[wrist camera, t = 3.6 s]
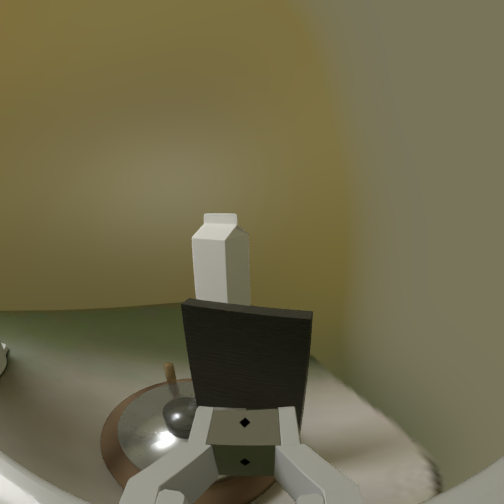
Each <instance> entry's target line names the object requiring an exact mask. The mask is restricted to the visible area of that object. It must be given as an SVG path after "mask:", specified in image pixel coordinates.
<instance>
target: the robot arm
mask: <svg viewBox="0 0 504 504" xmlns="http://www.w3.org/2000/svg"><path fill="white" fill-rule="evenodd" d="M7 351H8V348H7V346H6V344H3V343H1V342H0V375H1V374H2V372H3V371H4V369H5V367H6V364H7V359H6V354H7ZM219 475H228V476H274V478H275V479H276V480H277V481H278V483H279V484H280V485H281V486H282V487H283V489H284V490H285V491H286V492H287V493H288V494H289V495H290V497H291V498H292V499H293V500H294V501H295V502H296V503H295V504H364V503H363V500H362V496H361V493H360V489H359V486H358V485H357V484H356V483H355V482H353V481H352V480H350V479H349V478H348V477H346V476H345V475H344V474H343V473H341V472H340V471H339V470H337V469H336V468H335V467H333V466H332V465H331V464H330V463H328V462H327V461H326V460H325V459H323V458H322V457H321V456H320V455H319V454H317V453H316V452H315V451H314V450H313V449H311V448H310V447H309V446H308V445H307V444H301V442H300V435H299V429H298V422H297V416H296V410H295V407H294V406H291V407H278V408H277V407H275V408H246V409H245V408H222V407H205V406H199V407H198V408H197V410H196V413H195V417H194V421H193V424H192V428H191V432H190V436H189V439H188V443H187V442H182V443H181V444H180V445H178V446H177V447H176V448H174V449H173V450H171V451H170V452H169V453H167V454H166V455H164V456H163V457H162V458H160V459H159V460H157V461H156V462H154V463H153V464H151V465H150V466H148V467H147V468H145V469H144V470H142V471H141V472H139V473H138V474H136V475H135V476H133V477H131V478H130V479H129V480H128V482H127V484H126V487H125V489H124V492H123V494H122V497H121V499H120V502H119V504H193V503H194V502H195V501H196V500H197V499H198V498H199V497H200V496H201V495H202V494H203V493H204V492H205V491H206V490H207V489H208V488H209V487H210V486H211V485H212V484H213V483H214V482H215V481H216V480H217V478H218V477H219ZM0 504H92V503H90V502H87V501H85V500H83V499H81V498H78V497H76V496H74V495H72V494H70V493H68V492H66V491H64V490H62V489H60V488H58V487H56V486H54V485H53V484H51V483H49V482H47V481H45V480H44V479H42V478H40V477H39V476H37V475H35V474H34V473H32V472H31V471H29V470H27V469H26V468H24V467H23V466H21V465H20V464H18V463H17V462H16V461H14V460H13V459H11V458H10V457H9V456H7V455H6V454H4V453H3V452H2V451H1V450H0ZM419 504H504V455H503V456H502V457H501V458H499V459H498V460H496V461H495V462H494V463H492V464H491V465H490V466H488V467H486V468H485V469H483V470H482V471H480V472H479V473H477V474H475V475H474V476H472V477H470V478H469V479H467V480H465V481H464V482H462V483H460V484H458V485H456V486H454V487H453V488H451V489H449V490H447V491H445V492H443V493H441V494H439V495H437V496H435V497H432V498H430V499H428V500H426V501H423V502H421V503H419Z"/></svg>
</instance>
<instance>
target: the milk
mask: <svg viewBox="0 0 504 504" xmlns="http://www.w3.org/2000/svg"><path fill="white" fill-rule="evenodd" d="M192 252H193V266H194V279H195V291H196V299H199V300H206V301H214V302H222V303H230V304H239V305H248V306H250V269H249V234H248V233H247V232H245V231H244V230H243V229H242V228H241V227H240V226H238V222H237V215H236V214H204V224H203V225H202V227H201V228H200V229H199V230H198V231H197V232H196V233H195V234H194V236H193V237H192Z"/></svg>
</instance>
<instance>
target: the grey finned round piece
mask: <svg viewBox="0 0 504 504" xmlns="http://www.w3.org/2000/svg"><path fill="white" fill-rule="evenodd" d="M181 308H182V316H183V324H184V332H185V339H186V346H187V352H188V359H189V365H190V371H191V377H192V381H185V382H176V383H170V384H166V385H162V386H159V387H156V388H154V389H151V390H149V391H147V392H145V393H143V394H142V395H140V396H138V397H137V398H136V399H134V400H133V401H132V402H131V403H130V404H129V405H128V406H127V407H126V409H125V410H124V411H123V413H122V415H121V417H120V420H119V423H118V439H119V443H120V445H121V447H122V450H123V451H124V453H125V455H126V457H127V458H128V460H129V461H130V462H131V464H132V465H133V466H134V467H135V468H136V469H137V470H139V471H140V472H141V471H142V470H144V469H145V468H147V467H148V466H150V465H151V464H153V463H154V462H156V461H157V460H159V459H160V458H162V457H163V456H164V455H166V454H167V453H169V452H170V451H171V450H173V449H174V448H176V447H177V446H178V445H180V444H181V443H182V442H187V443H188V439H189V436H190V432H191V428H192V424H193V421H194V417H195V413H196V410H197V408H198V407H199V406H205V407H222V408H245V409H246V408H275V407H277V408H278V407H291V406H294V407H295V410H296V416H297V422H298V429H299V435H300V431H301V424H302V417H303V410H304V402H305V394H306V385H307V376H308V367H309V356H310V345H311V333H312V319H313V312H312V311H300V310H288V309H277V308H265V307H257V306H248V305H239V304H230V303H222V302H214V301H206V300H199V299H190V298H189V299H188V300H186V301H185V302H183V303H182V304H181ZM232 477H234V476H228V475H219V477H218V478H217V480H216V481H215V482H214V483H213V484H212V485H215V484H218V483H221V482H224V481H226V480H228V479H230V478H232Z"/></svg>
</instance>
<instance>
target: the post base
mask: <svg viewBox="0 0 504 504" xmlns="http://www.w3.org/2000/svg"><path fill="white" fill-rule="evenodd" d="M164 369H165V374H166V378H167V382H163V383H159V384H156V385H153V386H150V387H147V388H145V389H142V390H140V391H138V392H136V393H134V394H133V395H131V396H129V397H128V398H126V399H125V400H124V401H122V402H121V403H120V404H119V405H118V406H117V407H116V408H115V409H114V410H113V411H112V413H111V414H110V415H109V417H108V418H107V420H106V422H105V424H104V427H103V430H102V434H101V451H102V456H103V459H104V461H105V464H106V466H107V468H108V470H109V471H110V473H111V474H112V475H113V477H114V478H115V480H116V481H117V482H118V483H119V485H120V486H121V487H122V488H123V489H125V487H126V484H127V482H128V480H129V479H130V478H131V477H133V476H135V475H136V474H138V473H139V472H140V471H139V470H137V469H136V468H135V467H134V466H133V465H132V464H131V462H130V461H129V460H128V458H127V457H126V455H125V453H124V451H123V450H122V447H121V445H120V443H119V439H118V423H119V420H120V417H121V415H122V413H123V411H124V410H125V409H126V407H127V406H128V405H129V404H130V403H131V402H132V401H133V400H134V399H136V398H137V397H138V396H140V395H142V394H143V393H145V392H147V391H149V390H151V389H154V388H156V387H159V386H162V385H166V384H170V383H176V382H185V381H192V379H180V380H176V376H175V371H174V366H173V363H170V362H168V363H165V364H164ZM275 480H276V479H275V478H274V476H234V477H232V478H230V479H228V480H226V481H224V482H221V483H218V484H215V485H211V486H210V487H209V488H208V489H207V490H206V491H205V492H204V493H203V494H202V495H201V496H200V497H199V498H198V499H197V500H196V501H195V502H194V503H193V504H248V503H250V502H251V501H253V500H255V499H256V498H258V497H259V496H260V495H262V494H263V493H264V492H265V491H266V490H267V489H269V487H270V486H271V485H272V484H273V483H274V482H275Z"/></svg>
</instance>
